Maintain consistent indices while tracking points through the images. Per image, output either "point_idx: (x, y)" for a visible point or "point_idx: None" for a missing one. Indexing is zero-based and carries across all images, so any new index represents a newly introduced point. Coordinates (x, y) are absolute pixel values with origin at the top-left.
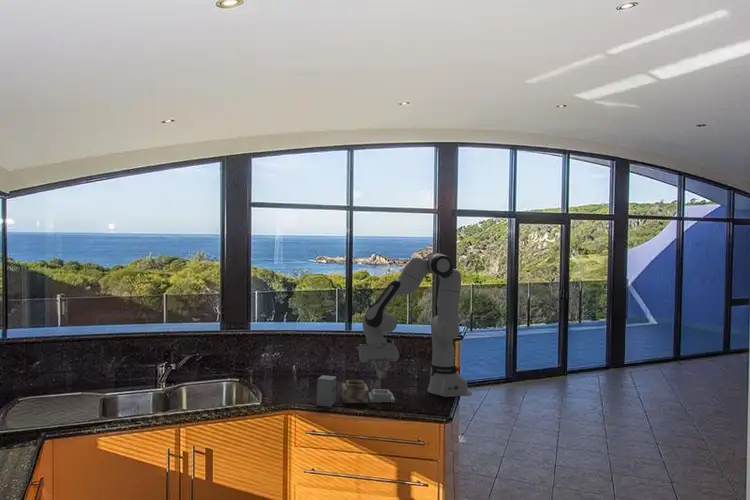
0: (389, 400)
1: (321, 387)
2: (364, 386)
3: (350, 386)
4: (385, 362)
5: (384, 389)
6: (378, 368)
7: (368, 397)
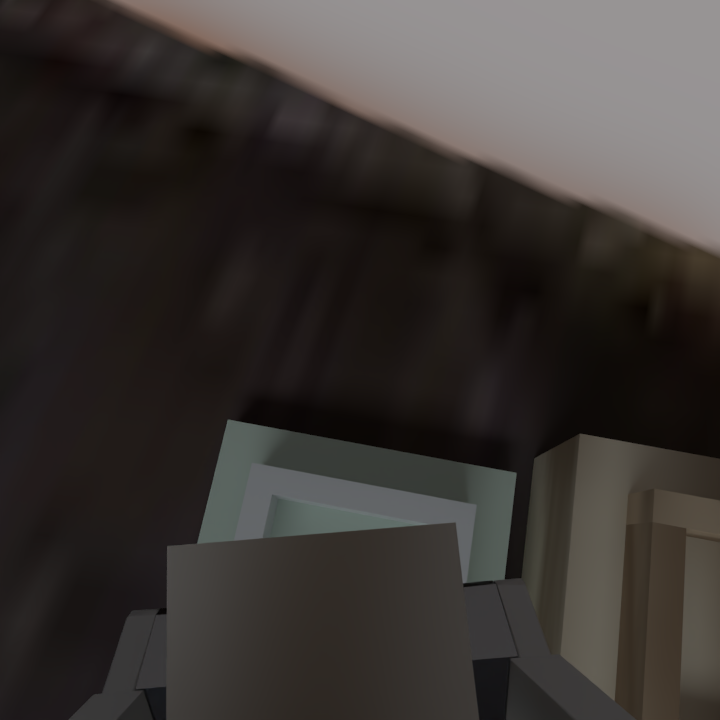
0: (293, 434)
1: None
2: (651, 490)
3: None
4: (256, 540)
5: None
6: None
7: None
